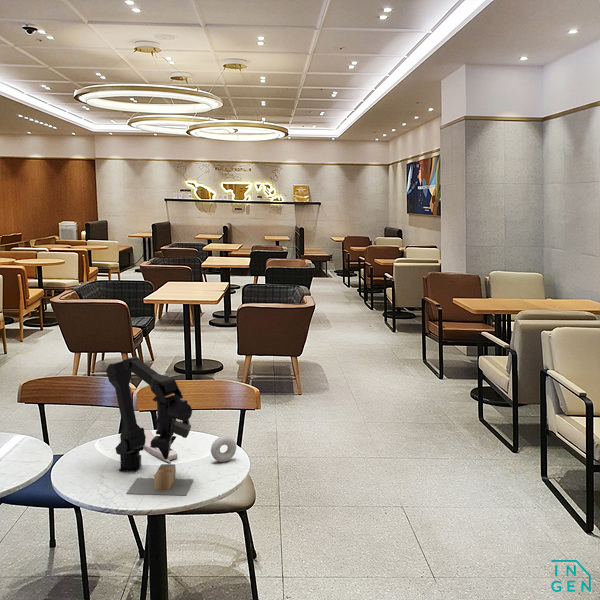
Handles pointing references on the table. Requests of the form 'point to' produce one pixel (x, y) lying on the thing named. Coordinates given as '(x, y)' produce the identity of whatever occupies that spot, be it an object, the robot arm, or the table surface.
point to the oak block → (164, 477)
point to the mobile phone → (157, 451)
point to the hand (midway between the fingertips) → (166, 458)
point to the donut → (217, 445)
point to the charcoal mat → (147, 488)
